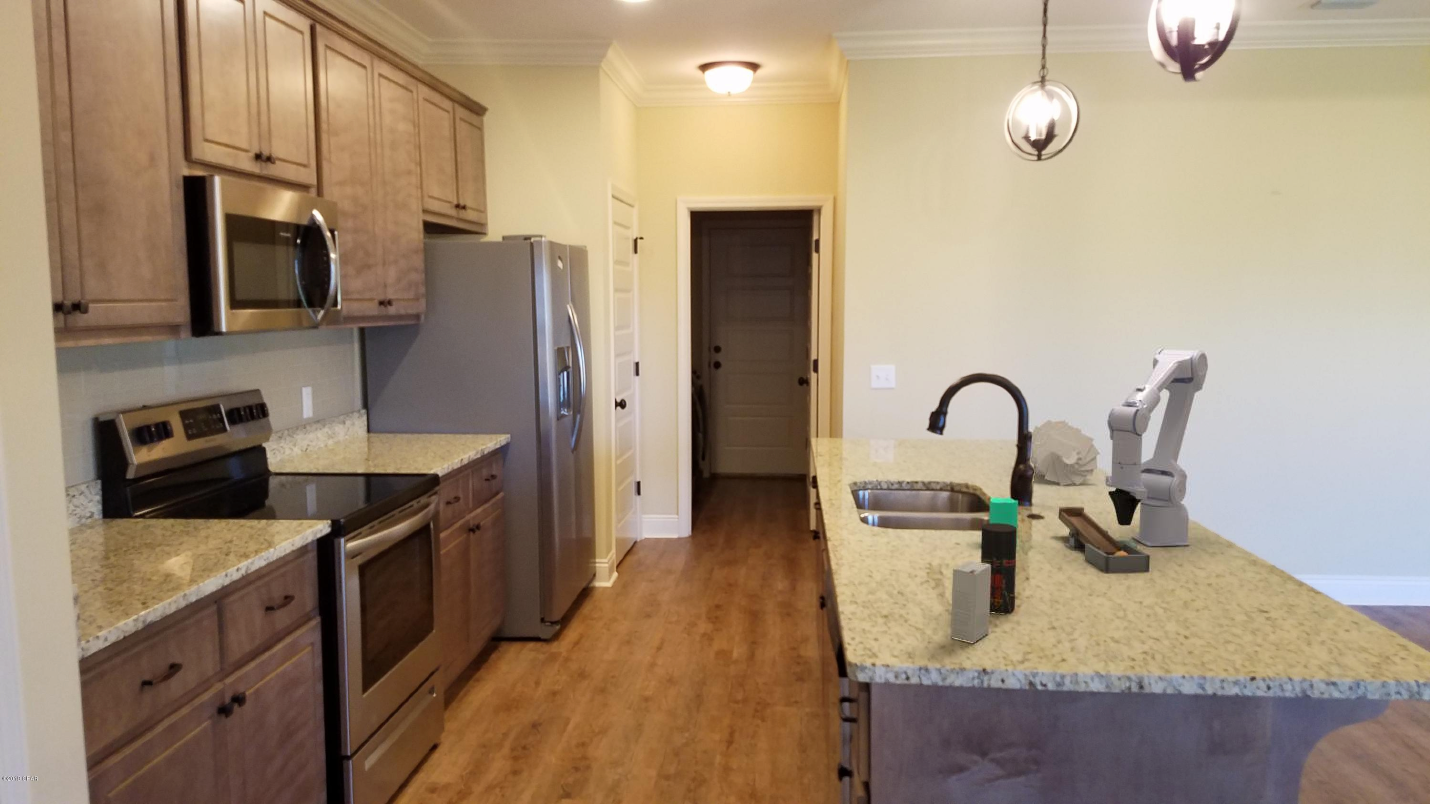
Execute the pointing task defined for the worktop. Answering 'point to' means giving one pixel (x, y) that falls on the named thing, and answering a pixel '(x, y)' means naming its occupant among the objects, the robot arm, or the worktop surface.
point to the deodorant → (1000, 564)
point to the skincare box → (970, 601)
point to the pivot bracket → (1075, 542)
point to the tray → (1118, 559)
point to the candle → (1004, 511)
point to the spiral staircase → (1063, 453)
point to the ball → (1121, 553)
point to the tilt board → (1090, 530)
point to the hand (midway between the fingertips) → (1124, 524)
